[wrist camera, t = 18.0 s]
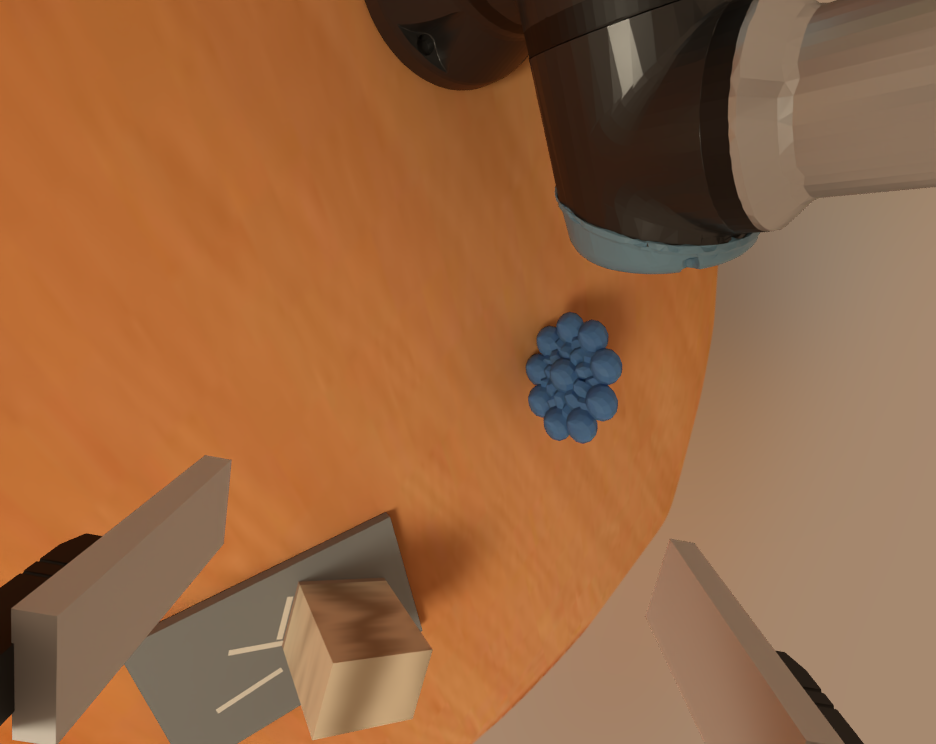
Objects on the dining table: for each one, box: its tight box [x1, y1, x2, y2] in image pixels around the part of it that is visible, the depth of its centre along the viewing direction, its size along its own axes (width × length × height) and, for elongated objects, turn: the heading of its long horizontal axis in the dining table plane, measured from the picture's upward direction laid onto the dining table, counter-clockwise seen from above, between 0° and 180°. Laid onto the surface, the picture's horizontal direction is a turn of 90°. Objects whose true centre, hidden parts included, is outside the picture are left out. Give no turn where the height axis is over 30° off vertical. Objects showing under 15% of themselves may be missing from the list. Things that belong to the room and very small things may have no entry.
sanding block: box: [282, 578, 432, 740], centre depth 43 cm, size 8×6×10 cm
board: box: [124, 512, 422, 744], centre depth 46 cm, size 22×14×1 cm, turn 103°
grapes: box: [526, 312, 622, 444], centre depth 49 cm, size 12×7×12 cm, turn 161°
